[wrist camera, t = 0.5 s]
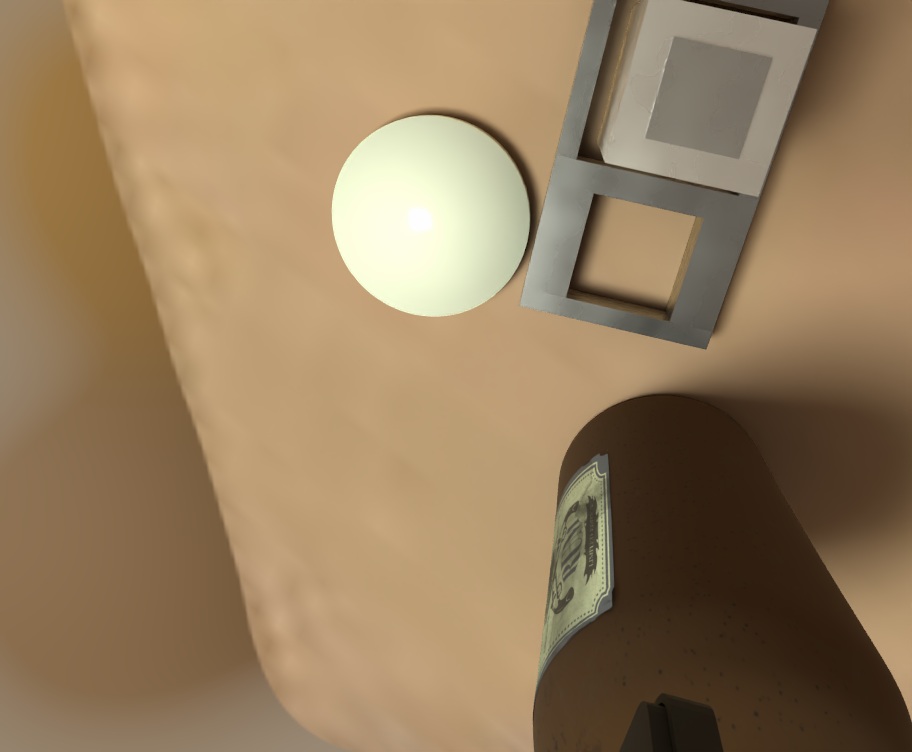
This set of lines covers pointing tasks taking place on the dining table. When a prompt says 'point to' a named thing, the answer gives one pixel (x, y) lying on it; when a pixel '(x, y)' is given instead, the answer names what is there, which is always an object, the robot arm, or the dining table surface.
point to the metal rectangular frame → (580, 177)
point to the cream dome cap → (431, 215)
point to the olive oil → (698, 597)
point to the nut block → (702, 93)
